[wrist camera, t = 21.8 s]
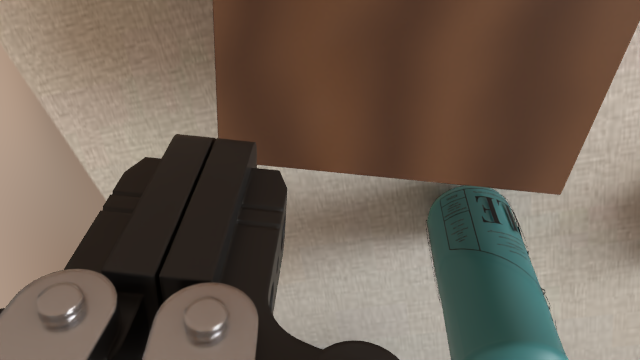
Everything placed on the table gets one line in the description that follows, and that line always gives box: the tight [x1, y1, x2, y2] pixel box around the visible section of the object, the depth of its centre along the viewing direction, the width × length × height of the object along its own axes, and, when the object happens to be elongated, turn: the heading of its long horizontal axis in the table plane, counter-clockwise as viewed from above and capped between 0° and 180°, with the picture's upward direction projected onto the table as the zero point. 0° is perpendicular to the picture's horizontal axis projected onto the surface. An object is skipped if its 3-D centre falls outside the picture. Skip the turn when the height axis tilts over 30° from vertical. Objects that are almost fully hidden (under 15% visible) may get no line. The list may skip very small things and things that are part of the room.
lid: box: [213, 0, 640, 195], centre depth 20 cm, size 17×17×1 cm
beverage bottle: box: [425, 185, 568, 360], centre depth 32 cm, size 6×7×20 cm
